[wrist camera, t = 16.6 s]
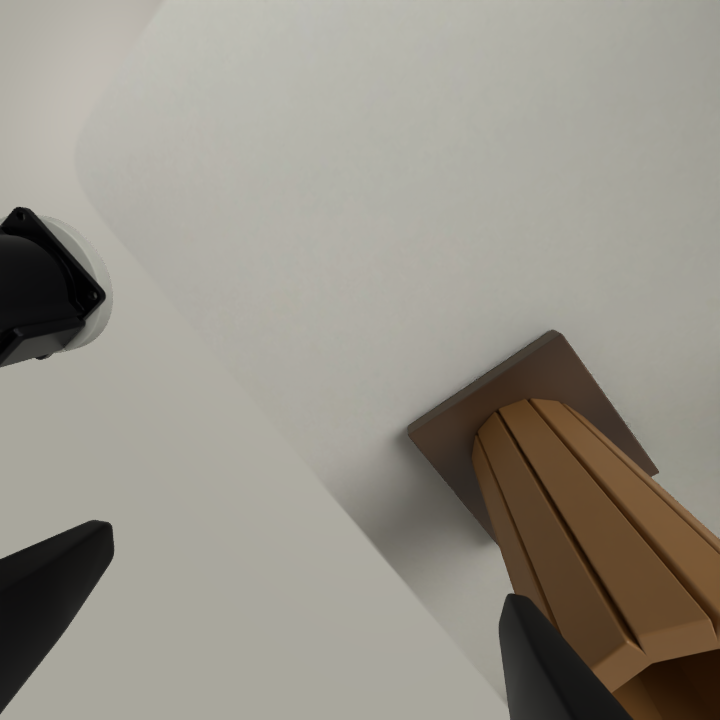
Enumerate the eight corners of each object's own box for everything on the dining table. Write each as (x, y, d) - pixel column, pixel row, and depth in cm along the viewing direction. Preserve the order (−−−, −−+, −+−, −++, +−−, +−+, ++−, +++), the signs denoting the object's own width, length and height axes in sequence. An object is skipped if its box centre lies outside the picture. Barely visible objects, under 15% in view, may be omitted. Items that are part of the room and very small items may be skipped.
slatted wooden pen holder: (454, 425, 20) (525, 663, 8) (571, 380, 19) (847, 586, 7) (497, 518, 21) (611, 840, 9) (610, 481, 20) (902, 802, 8)
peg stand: (407, 425, 21) (408, 484, 16) (552, 328, 19) (612, 358, 14) (499, 539, 23) (530, 630, 17) (646, 460, 20) (734, 536, 15)
